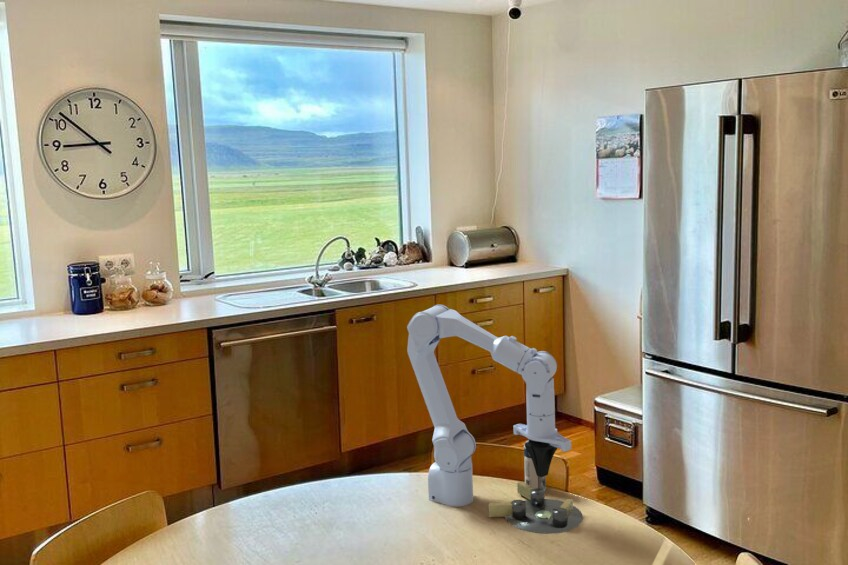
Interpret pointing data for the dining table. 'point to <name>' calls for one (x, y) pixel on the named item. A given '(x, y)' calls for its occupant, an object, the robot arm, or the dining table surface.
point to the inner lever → (508, 509)
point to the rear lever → (531, 494)
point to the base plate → (545, 518)
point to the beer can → (532, 473)
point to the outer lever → (562, 513)
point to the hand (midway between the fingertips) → (542, 475)
